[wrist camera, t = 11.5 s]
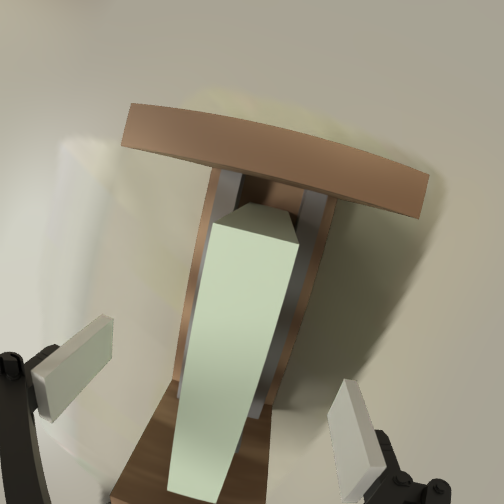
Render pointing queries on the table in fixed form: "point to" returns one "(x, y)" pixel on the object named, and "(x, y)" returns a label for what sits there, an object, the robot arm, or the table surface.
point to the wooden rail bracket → (303, 273)
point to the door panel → (229, 343)
